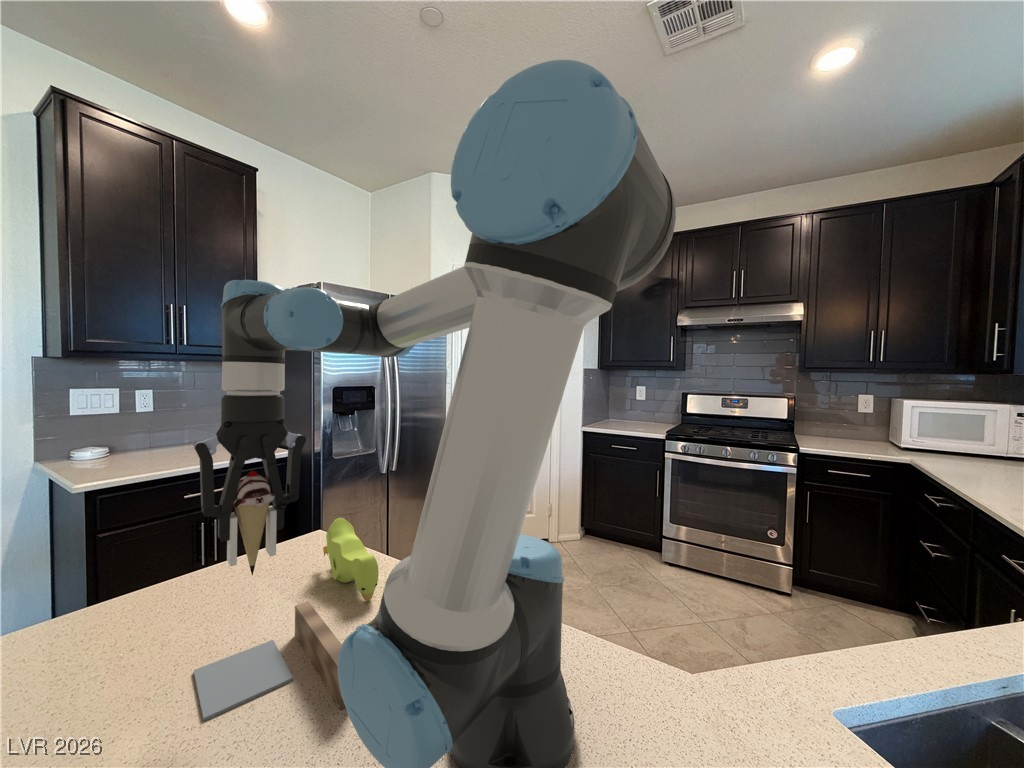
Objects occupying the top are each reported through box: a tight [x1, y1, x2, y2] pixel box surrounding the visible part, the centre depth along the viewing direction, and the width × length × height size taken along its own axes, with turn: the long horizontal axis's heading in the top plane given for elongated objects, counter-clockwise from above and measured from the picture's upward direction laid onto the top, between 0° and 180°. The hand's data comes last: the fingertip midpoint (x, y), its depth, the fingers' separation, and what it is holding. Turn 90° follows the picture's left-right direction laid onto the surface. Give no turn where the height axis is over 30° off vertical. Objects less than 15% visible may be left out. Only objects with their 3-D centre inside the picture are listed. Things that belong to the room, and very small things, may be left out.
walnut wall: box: [294, 600, 346, 710], centre depth 59 cm, size 20×2×5 cm, turn 43°
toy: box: [322, 517, 379, 602], centre depth 83 cm, size 6×17×20 cm
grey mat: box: [193, 639, 294, 722], centre depth 57 cm, size 11×10×1 cm
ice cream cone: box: [232, 470, 275, 576], centre depth 57 cm, size 6×6×15 cm
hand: (251, 557), depth 57 cm, fingers closed on ice cream cone, 4 cm apart
